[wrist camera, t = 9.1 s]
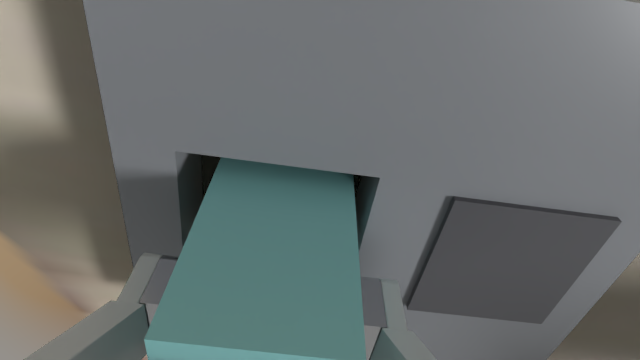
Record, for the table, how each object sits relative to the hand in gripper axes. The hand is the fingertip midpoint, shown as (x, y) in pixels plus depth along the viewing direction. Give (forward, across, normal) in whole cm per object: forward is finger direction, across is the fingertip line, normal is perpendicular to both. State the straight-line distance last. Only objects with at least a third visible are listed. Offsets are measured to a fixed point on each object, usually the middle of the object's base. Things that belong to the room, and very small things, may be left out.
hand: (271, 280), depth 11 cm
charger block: (+2, 0, 0) cm, 3 cm away
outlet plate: (+4, -3, -1) cm, 5 cm away
